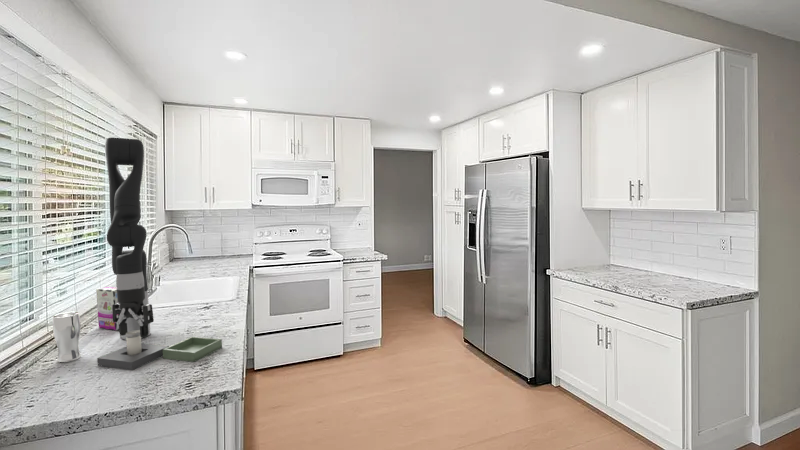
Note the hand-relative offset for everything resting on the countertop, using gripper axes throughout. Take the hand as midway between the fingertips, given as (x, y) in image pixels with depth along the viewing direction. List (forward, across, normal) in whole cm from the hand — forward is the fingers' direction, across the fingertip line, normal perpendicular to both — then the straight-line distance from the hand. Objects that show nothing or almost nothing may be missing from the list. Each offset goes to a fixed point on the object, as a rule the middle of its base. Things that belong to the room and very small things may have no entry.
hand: (134, 335), depth 132 cm
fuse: (+8, 0, 0) cm, 8 cm away
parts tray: (+8, +14, +9) cm, 19 cm away
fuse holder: (+8, 0, 0) cm, 8 cm away
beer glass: (+8, -23, -5) cm, 24 cm away
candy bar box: (+7, -39, +24) cm, 47 cm away
